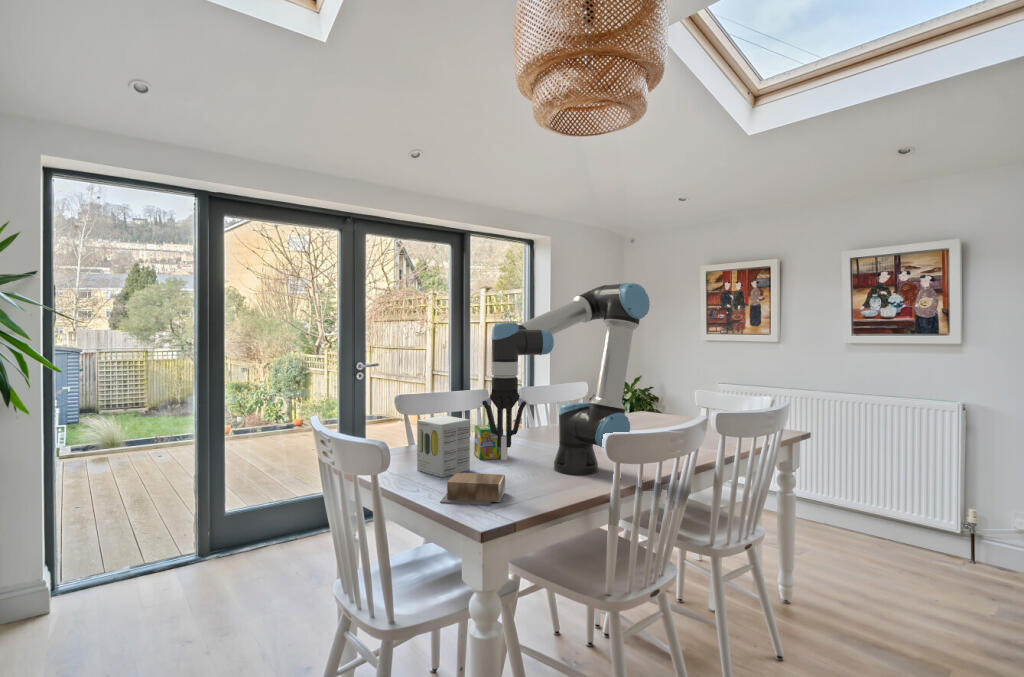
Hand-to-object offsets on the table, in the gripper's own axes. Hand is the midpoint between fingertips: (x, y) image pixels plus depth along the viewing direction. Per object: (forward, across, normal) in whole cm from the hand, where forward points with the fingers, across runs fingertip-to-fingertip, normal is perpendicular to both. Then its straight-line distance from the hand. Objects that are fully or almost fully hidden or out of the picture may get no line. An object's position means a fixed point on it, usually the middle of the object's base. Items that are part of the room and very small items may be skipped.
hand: (504, 458), depth 156 cm
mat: (+12, +10, -1) cm, 15 cm away
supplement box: (+12, +25, -27) cm, 39 cm away
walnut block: (+9, 0, 0) cm, 9 cm away
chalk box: (+12, +13, -48) cm, 51 cm away
